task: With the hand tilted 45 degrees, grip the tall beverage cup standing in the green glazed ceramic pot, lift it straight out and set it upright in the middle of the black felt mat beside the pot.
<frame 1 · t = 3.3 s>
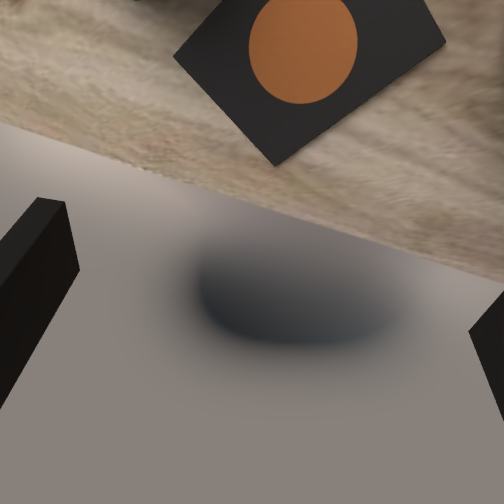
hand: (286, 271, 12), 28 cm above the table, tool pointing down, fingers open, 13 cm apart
mat: (302, 47, 34), on the table
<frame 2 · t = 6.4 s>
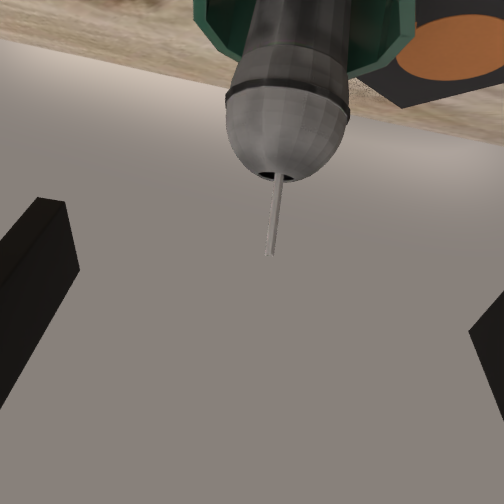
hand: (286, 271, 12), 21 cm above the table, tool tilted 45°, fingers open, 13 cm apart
mat: (455, 41, 32), on the table
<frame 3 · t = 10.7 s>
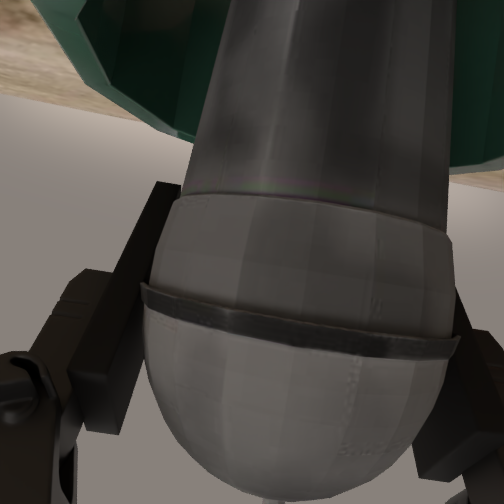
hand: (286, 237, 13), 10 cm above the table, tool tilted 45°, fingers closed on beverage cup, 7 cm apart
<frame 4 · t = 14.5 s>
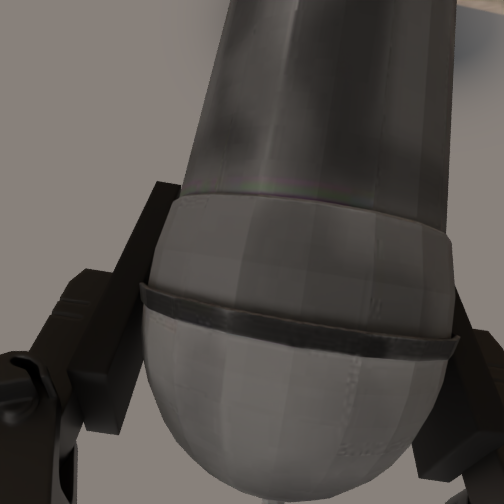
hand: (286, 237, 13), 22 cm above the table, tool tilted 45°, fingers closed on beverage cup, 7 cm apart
when the fingers open (10 cm above the table, at t = 18.8 s): beverage cup stays where it is, resting on mat.
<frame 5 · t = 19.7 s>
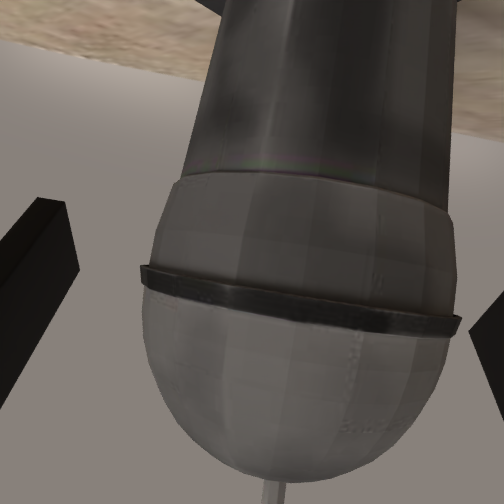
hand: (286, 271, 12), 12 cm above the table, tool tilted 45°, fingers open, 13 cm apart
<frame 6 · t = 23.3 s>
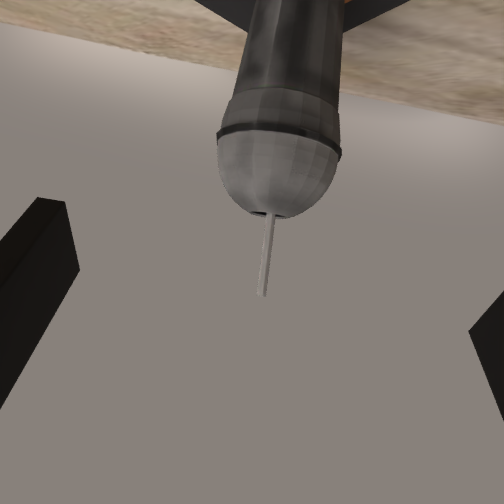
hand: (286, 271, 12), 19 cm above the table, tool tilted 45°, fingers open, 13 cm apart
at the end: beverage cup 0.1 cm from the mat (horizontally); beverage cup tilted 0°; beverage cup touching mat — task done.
